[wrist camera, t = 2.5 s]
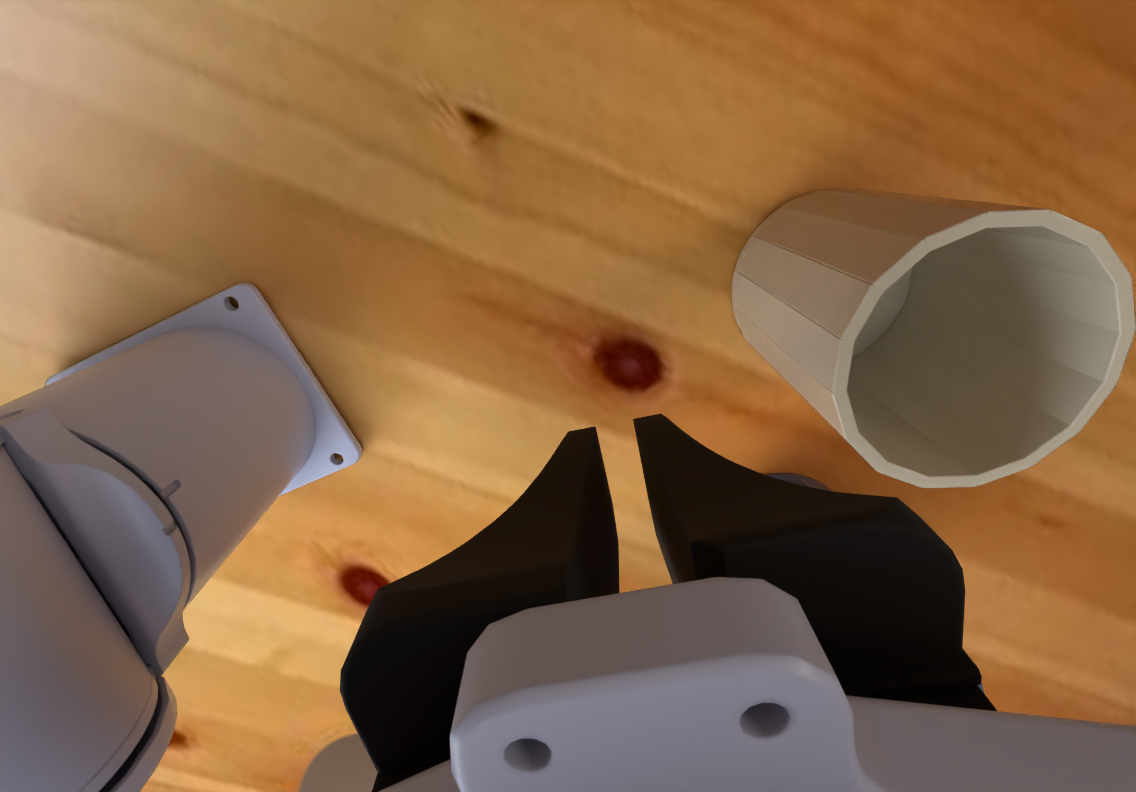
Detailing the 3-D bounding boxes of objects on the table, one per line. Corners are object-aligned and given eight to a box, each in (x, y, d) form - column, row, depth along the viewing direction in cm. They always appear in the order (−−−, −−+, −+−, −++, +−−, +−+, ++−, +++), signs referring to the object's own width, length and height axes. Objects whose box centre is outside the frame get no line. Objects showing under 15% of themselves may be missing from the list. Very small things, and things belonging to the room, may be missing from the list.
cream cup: (761, 394, 23) (871, 524, 15) (706, 237, 21) (800, 290, 13) (928, 327, 22) (1145, 427, 14) (890, 155, 20) (1122, 153, 12)
